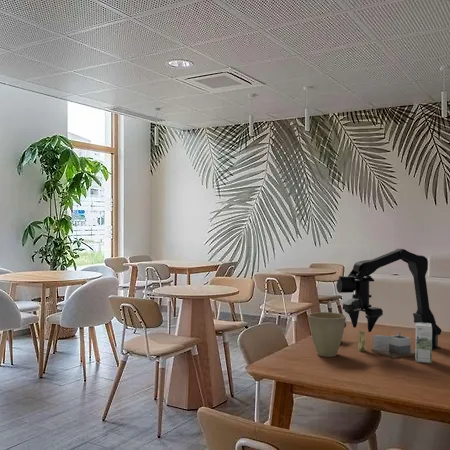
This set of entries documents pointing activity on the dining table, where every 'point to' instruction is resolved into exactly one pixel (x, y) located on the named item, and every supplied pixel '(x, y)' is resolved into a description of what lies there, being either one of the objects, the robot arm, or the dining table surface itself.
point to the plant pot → (327, 332)
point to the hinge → (392, 346)
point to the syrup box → (423, 343)
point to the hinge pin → (361, 340)
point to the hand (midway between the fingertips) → (362, 329)
